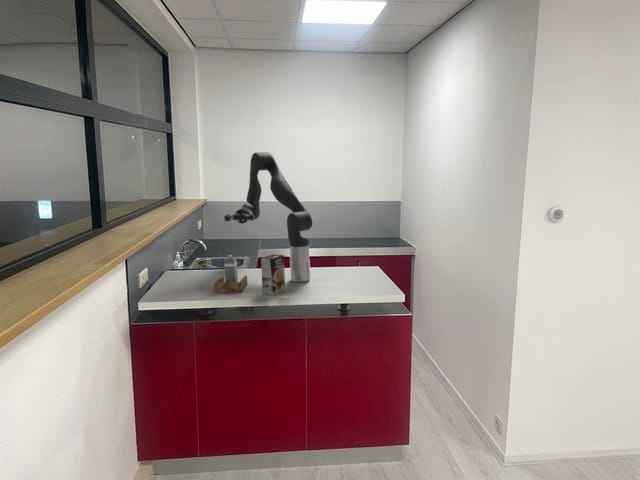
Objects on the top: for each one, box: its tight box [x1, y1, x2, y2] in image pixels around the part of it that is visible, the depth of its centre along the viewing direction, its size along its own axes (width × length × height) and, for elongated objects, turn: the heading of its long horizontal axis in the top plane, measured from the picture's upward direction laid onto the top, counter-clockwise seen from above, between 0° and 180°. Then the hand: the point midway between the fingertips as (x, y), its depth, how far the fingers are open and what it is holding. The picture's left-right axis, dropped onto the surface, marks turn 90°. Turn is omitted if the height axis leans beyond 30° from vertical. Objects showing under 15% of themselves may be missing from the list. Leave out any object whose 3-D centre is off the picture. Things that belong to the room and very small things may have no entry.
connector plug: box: [223, 254, 239, 282], centre depth 205 cm, size 5×5×14 cm
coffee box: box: [260, 253, 286, 296], centre depth 198 cm, size 9×6×16 cm
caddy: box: [213, 275, 248, 294], centre depth 205 cm, size 12×13×4 cm
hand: (236, 219), depth 216 cm, fingers open, 8 cm apart
